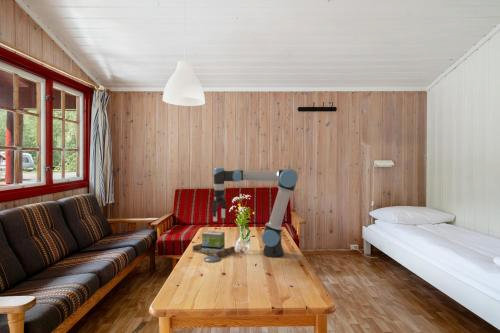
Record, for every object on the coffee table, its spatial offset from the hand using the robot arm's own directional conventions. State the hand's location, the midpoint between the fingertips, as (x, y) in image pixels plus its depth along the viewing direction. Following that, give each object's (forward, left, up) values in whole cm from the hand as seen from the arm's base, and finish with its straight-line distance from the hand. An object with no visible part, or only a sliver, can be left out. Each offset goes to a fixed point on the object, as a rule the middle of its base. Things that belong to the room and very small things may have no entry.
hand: (219, 219), depth 221 cm
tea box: (-7, -14, -28) cm, 32 cm away
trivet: (+7, -1, -27) cm, 28 cm away
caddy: (-7, -14, -27) cm, 31 cm away
